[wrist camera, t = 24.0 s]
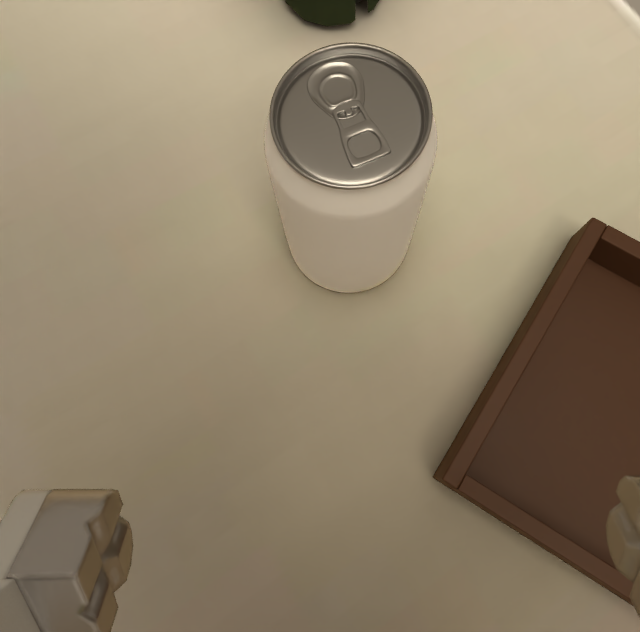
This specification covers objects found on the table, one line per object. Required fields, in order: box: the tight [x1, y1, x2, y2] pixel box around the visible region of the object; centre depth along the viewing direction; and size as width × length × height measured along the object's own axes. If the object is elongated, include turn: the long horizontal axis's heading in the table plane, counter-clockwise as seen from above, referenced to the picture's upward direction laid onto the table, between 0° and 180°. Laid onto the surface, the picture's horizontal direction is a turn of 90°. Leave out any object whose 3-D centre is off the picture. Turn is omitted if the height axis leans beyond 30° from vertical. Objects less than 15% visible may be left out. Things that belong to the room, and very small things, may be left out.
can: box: [264, 43, 437, 293], centre depth 26 cm, size 6×6×12 cm
